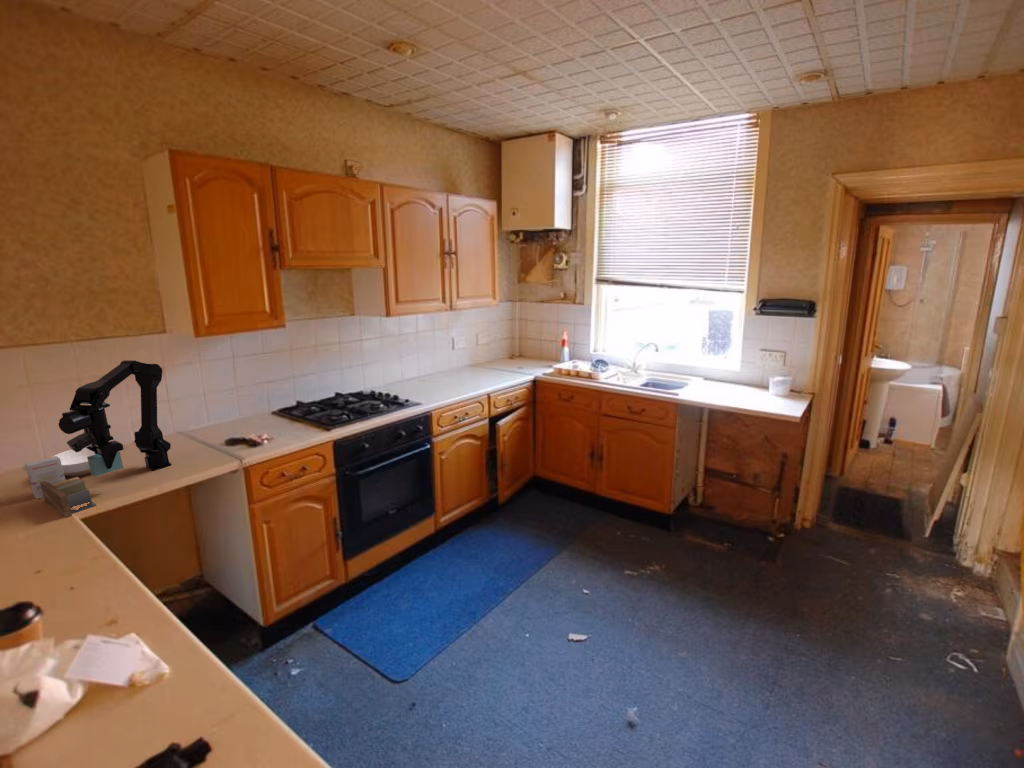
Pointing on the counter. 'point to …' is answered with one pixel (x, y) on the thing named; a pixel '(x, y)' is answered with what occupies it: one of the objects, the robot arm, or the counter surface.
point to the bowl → (75, 462)
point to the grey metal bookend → (80, 500)
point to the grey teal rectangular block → (103, 464)
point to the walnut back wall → (56, 498)
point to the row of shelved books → (70, 486)
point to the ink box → (44, 473)
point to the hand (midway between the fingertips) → (106, 467)
